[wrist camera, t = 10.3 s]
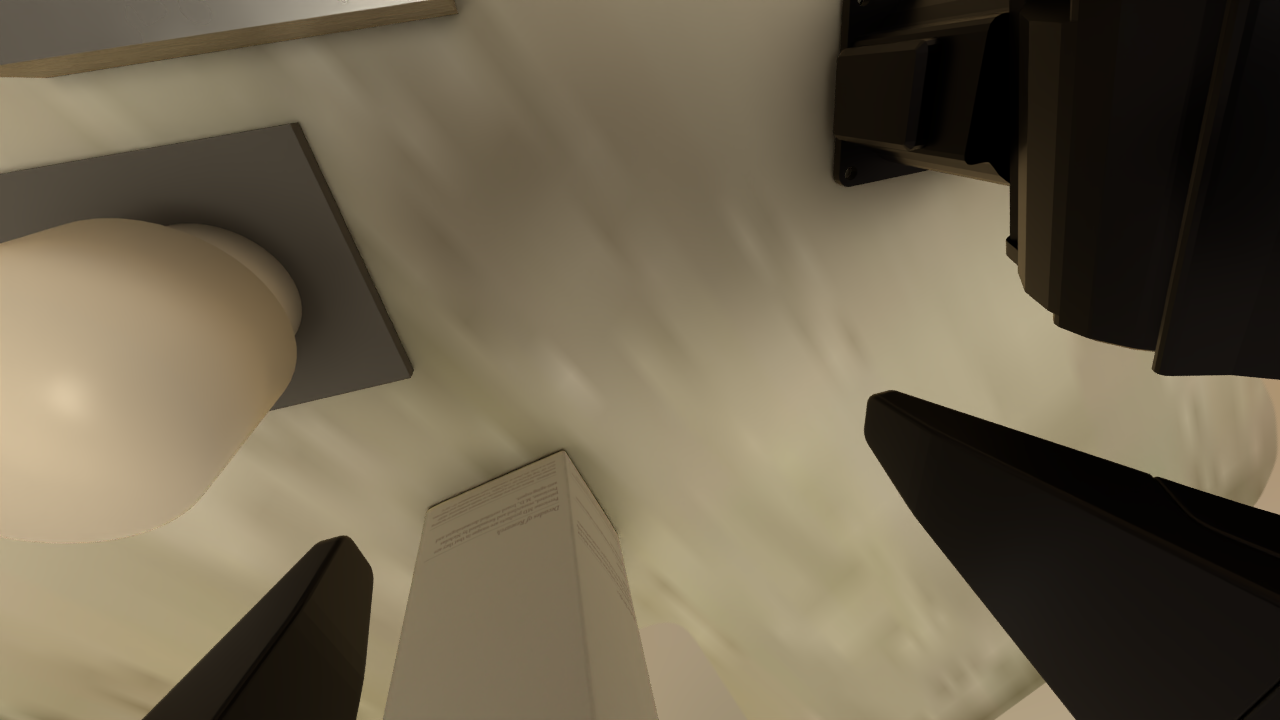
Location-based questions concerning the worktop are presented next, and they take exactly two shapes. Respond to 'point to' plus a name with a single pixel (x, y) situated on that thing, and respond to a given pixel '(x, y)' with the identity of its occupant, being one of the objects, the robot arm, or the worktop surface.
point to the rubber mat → (252, 207)
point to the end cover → (132, 371)
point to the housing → (174, 28)
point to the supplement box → (520, 608)
